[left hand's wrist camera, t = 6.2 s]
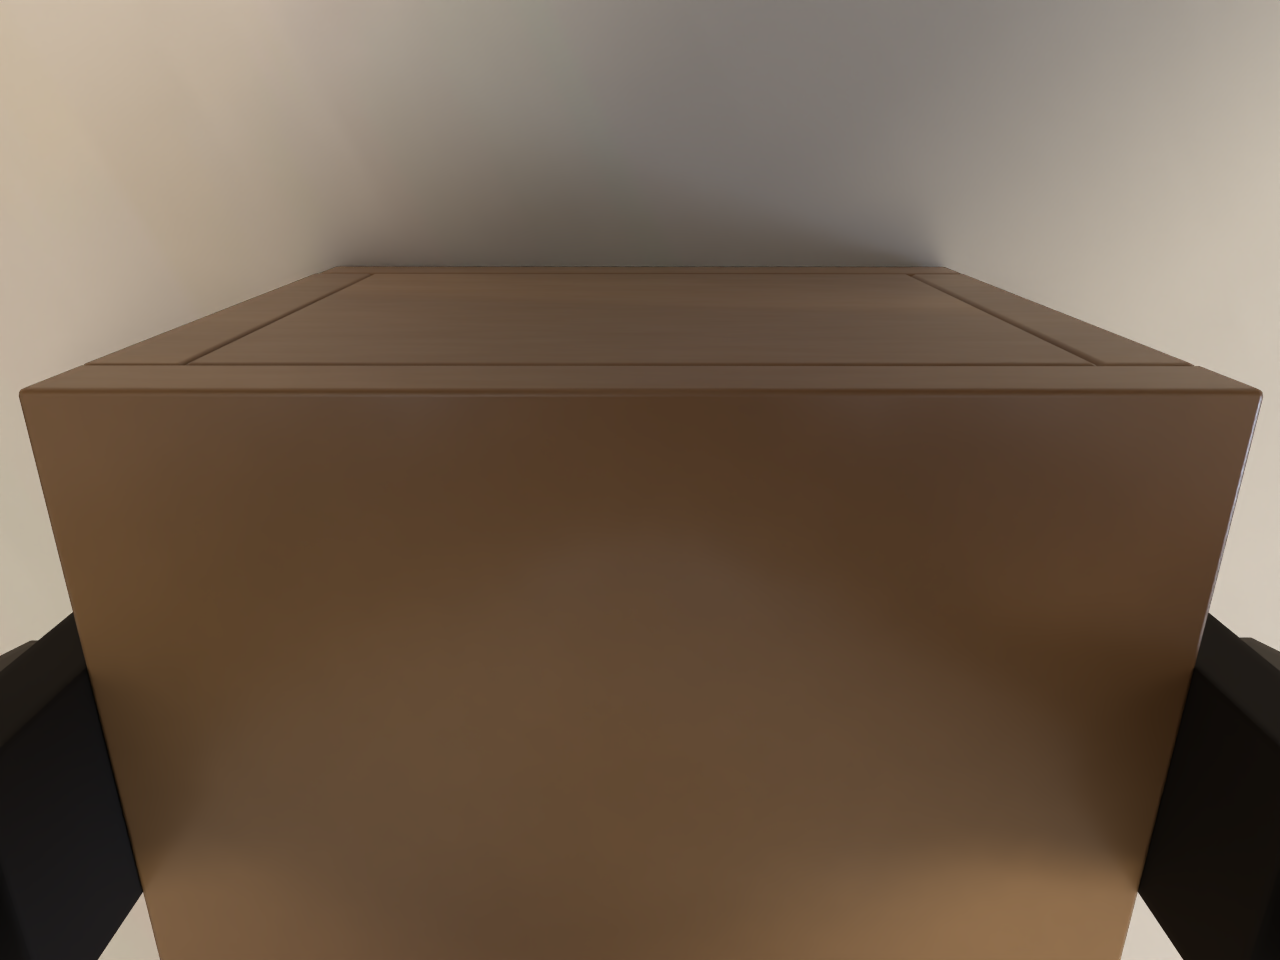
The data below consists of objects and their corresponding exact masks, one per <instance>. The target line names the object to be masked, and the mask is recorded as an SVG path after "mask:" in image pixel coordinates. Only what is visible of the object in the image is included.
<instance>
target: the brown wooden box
mask: <svg viewBox="0 0 1280 960" xmlns="http://www.w3.org/2000/svg"><path fill="white" fill-rule="evenodd" d="M19 398H20V402H21V406H22V410H23V414H24V418H25V422H26V426H27V430H28V434H29V438H30V442H31V446H32V450H33V454H34V458H35V462H36V466H37V470H38V474H39V478H40V482H41V486H42V490H43V494H44V498H45V502H46V506H47V510H48V514H49V518H50V522H51V526H52V530H53V534H54V538H55V542H56V546H57V550H58V554H59V558H60V562H61V566H62V570H63V574H64V578H65V582H66V586H67V590H68V594H69V598H70V602H71V606H72V610H73V614H74V618H75V622H76V626H77V630H78V634H79V637H80V641H81V645H82V649H83V653H84V657H85V661H86V665H87V669H88V673H89V677H90V681H91V685H92V689H93V693H94V697H95V701H96V705H97V709H98V713H99V717H100V721H101V725H102V729H103V733H104V737H105V741H106V745H107V749H108V753H109V757H110V761H111V765H112V769H113V773H114V777H115V781H116V785H117V789H118V793H119V797H120V801H121V805H122V809H123V813H124V817H125V821H126V825H127V829H128V833H129V837H130V841H131V845H132V849H133V853H134V857H135V861H136V865H137V869H138V873H139V877H140V881H141V885H142V889H143V893H144V897H145V901H146V905H147V909H148V913H149V917H150V921H151V925H152V929H153V933H154V937H155V941H156V945H157V949H158V953H159V957H160V960H1120V959H1121V955H1122V951H1123V947H1124V943H1125V939H1126V936H1127V932H1128V928H1129V924H1130V920H1131V916H1132V912H1133V908H1134V904H1135V900H1136V896H1137V892H1138V888H1139V884H1140V880H1141V876H1142V872H1143V868H1144V864H1145V861H1146V857H1147V853H1148V849H1149V845H1150V841H1151V837H1152V833H1153V829H1154V825H1155V821H1156V817H1157V813H1158V809H1159V805H1160V801H1161V797H1162V793H1163V789H1164V786H1165V782H1166V778H1167V774H1168V770H1169V766H1170V762H1171V758H1172V754H1173V750H1174V746H1175V742H1176V738H1177V734H1178V730H1179V726H1180V722H1181V718H1182V714H1183V711H1184V707H1185V703H1186V699H1187V695H1188V691H1189V687H1190V683H1191V679H1192V675H1193V671H1194V667H1195V663H1196V659H1197V655H1198V651H1199V647H1200V643H1201V639H1202V636H1203V632H1204V628H1205V624H1206V620H1207V616H1208V612H1209V608H1210V604H1211V600H1212V596H1213V592H1214V588H1215V584H1216V580H1217V576H1218V572H1219V568H1220V564H1221V561H1222V557H1223V553H1224V549H1225V545H1226V541H1227V537H1228V533H1229V529H1230V525H1231V521H1232V517H1233V513H1234V509H1235V505H1236V501H1237V497H1238V493H1239V489H1240V486H1241V482H1242V478H1243V474H1244V470H1245V466H1246V462H1247V458H1248V454H1249V450H1250V446H1251V442H1252V438H1253V434H1254V430H1255V426H1256V422H1257V418H1258V414H1259V411H1260V407H1261V403H1262V399H1263V394H1262V391H1261V390H1259V389H1256V388H1254V387H1251V386H1249V385H1246V384H1244V383H1241V382H1239V381H1236V380H1234V379H1231V378H1228V377H1226V376H1223V375H1221V374H1218V373H1216V372H1213V371H1211V370H1208V369H1205V368H1203V367H1200V366H1194V365H1192V364H1190V363H1188V362H1185V361H1183V360H1180V359H1178V358H1175V357H1173V356H1170V355H1168V354H1165V353H1162V352H1160V351H1157V350H1155V349H1152V348H1150V347H1147V346H1145V345H1142V344H1140V343H1137V342H1134V341H1132V340H1129V339H1127V338H1124V337H1122V336H1119V335H1117V334H1114V333H1112V332H1109V331H1106V330H1104V329H1101V328H1099V327H1096V326H1094V325H1091V324H1089V323H1086V322H1084V321H1081V320H1078V319H1076V318H1073V317H1071V316H1068V315H1066V314H1063V313H1061V312H1058V311H1056V310H1053V309H1050V308H1048V307H1045V306H1043V305H1040V304H1038V303H1035V302H1033V301H1030V300H1028V299H1025V298H1022V297H1020V296H1017V295H1015V294H1012V293H1010V292H1007V291H1005V290H1002V289H1000V288H997V287H994V286H992V285H989V284H987V283H984V282H982V281H979V280H977V279H974V278H972V277H969V276H966V275H964V274H960V273H958V272H955V271H953V270H950V269H948V268H945V267H334V268H332V269H329V270H327V271H324V272H322V273H319V274H313V275H311V276H308V277H306V278H303V279H301V280H298V281H296V282H293V283H290V284H288V285H285V286H283V287H280V288H278V289H275V290H273V291H270V292H267V293H265V294H262V295H260V296H257V297H255V298H252V299H249V300H247V301H244V302H242V303H239V304H237V305H234V306H232V307H229V308H226V309H224V310H221V311H219V312H216V313H214V314H211V315H209V316H206V317H203V318H201V319H198V320H196V321H193V322H191V323H188V324H185V325H183V326H180V327H178V328H175V329H173V330H170V331H168V332H165V333H162V334H160V335H157V336H155V337H152V338H150V339H147V340H145V341H142V342H139V343H137V344H134V345H132V346H129V347H127V348H124V349H121V350H119V351H116V352H114V353H111V354H109V355H106V356H104V357H101V358H98V359H96V360H93V361H91V362H88V363H86V364H84V365H82V366H79V367H77V368H74V369H72V370H69V371H67V372H64V373H61V374H59V375H56V376H54V377H51V378H49V379H46V380H44V381H41V382H38V383H36V384H33V385H31V386H28V387H26V388H23V389H21V390H20V392H19Z"/></svg>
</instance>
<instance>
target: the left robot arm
mask: <svg viewBox="0 0 1280 960" xmlns="http://www.w3.org/2000/svg"><path fill="white" fill-rule="evenodd" d="M142 893H143V889H142V885H141V881H140V877H139V873H138V869H137V865H136V861H135V857H134V853H133V849H132V845H131V841H130V837H129V833H128V829H127V825H126V821H125V817H124V813H123V809H122V805H121V801H120V797H119V793H118V789H117V785H116V781H115V777H114V773H113V769H112V765H111V761H110V757H109V753H108V749H107V745H106V741H105V737H104V733H103V729H102V725H101V721H100V717H99V713H98V709H97V705H96V701H95V697H94V693H93V689H92V685H91V681H90V677H89V673H88V669H87V665H86V661H85V657H84V653H83V649H82V645H81V641H80V637H79V634H78V630H77V626H76V622H75V618H74V614H73V613H71V614H70V615H69V616H68V617H66V618H65V619H64V620H63V621H62V622H60V623H59V624H58V625H57V626H55V627H54V628H53V629H52V630H51V631H49V632H48V633H47V634H46V635H44V636H43V637H42V638H41V639H40V640H38V641H29V642H27V643H25V644H23V645H21V646H19V647H17V648H15V649H13V650H11V651H9V652H7V653H5V654H3V655H1V656H0V960H98V958H99V957H100V955H101V954H102V952H103V951H104V949H105V948H106V946H107V945H108V943H109V942H110V940H111V939H112V937H113V936H114V934H115V933H116V931H117V930H118V928H119V927H120V925H121V924H122V922H123V921H124V920H125V918H126V917H127V915H128V914H129V912H130V911H131V909H132V908H133V906H134V905H135V903H136V902H137V900H138V899H139V897H140V896H141V894H142ZM1138 893H1139V894H1140V896H1141V897H1142V899H1143V900H1144V902H1145V903H1146V905H1147V906H1148V908H1149V909H1150V911H1151V912H1152V914H1153V915H1154V917H1155V918H1156V920H1157V921H1158V923H1159V924H1160V926H1161V927H1162V929H1163V930H1164V932H1165V933H1166V935H1167V936H1168V938H1169V939H1170V940H1171V942H1172V943H1173V945H1174V946H1175V948H1176V949H1177V951H1178V952H1179V954H1180V955H1181V957H1182V958H1183V960H1280V652H1279V651H1277V650H1275V649H1273V648H1271V647H1269V646H1267V645H1265V644H1263V643H1261V642H1259V641H1257V640H1255V639H1253V638H1239V637H1238V636H1237V635H1235V634H1234V633H1233V632H1232V631H1230V630H1229V629H1228V628H1227V627H1226V626H1224V625H1223V624H1222V623H1221V622H1219V621H1218V620H1217V619H1216V618H1215V617H1213V616H1212V615H1211V614H1210V613H1208V616H1207V620H1206V624H1205V628H1204V632H1203V636H1202V639H1201V643H1200V647H1199V651H1198V655H1197V659H1196V663H1195V667H1194V671H1193V675H1192V679H1191V683H1190V687H1189V691H1188V695H1187V699H1186V703H1185V707H1184V711H1183V714H1182V718H1181V722H1180V726H1179V730H1178V734H1177V738H1176V742H1175V746H1174V750H1173V754H1172V758H1171V762H1170V766H1169V770H1168V774H1167V778H1166V782H1165V786H1164V789H1163V793H1162V797H1161V801H1160V805H1159V809H1158V813H1157V817H1156V821H1155V825H1154V829H1153V833H1152V837H1151V841H1150V845H1149V849H1148V853H1147V857H1146V861H1145V864H1144V868H1143V872H1142V876H1141V880H1140V884H1139V888H1138Z"/></svg>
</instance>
